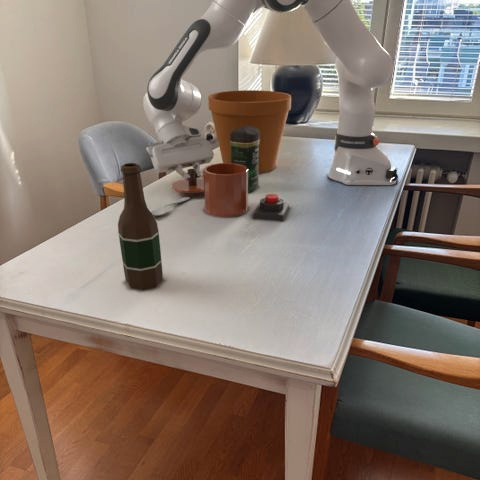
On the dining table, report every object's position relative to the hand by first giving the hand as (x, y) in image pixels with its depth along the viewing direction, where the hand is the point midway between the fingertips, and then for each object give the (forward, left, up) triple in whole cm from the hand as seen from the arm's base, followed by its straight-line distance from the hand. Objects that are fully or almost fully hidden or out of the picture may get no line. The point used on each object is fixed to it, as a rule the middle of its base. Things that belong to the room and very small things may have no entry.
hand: (193, 178), depth 148 cm
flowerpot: (-11, -33, -5) cm, 35 cm away
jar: (-14, +13, -5) cm, 19 cm away
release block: (-27, +13, -5) cm, 30 cm away
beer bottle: (-8, +59, -5) cm, 59 cm away
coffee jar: (-15, -7, -5) cm, 17 cm away
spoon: (+2, +15, -5) cm, 16 cm away
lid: (0, 0, -3) cm, 3 cm away
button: (-27, +13, -1) cm, 29 cm away
